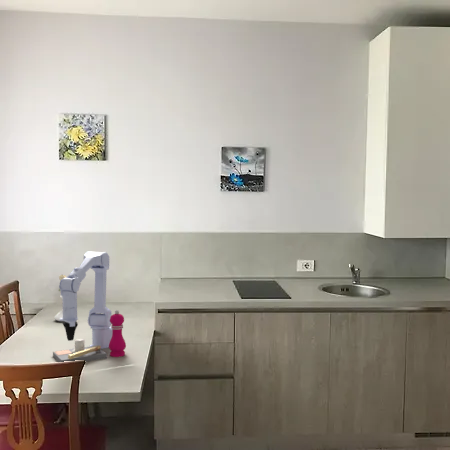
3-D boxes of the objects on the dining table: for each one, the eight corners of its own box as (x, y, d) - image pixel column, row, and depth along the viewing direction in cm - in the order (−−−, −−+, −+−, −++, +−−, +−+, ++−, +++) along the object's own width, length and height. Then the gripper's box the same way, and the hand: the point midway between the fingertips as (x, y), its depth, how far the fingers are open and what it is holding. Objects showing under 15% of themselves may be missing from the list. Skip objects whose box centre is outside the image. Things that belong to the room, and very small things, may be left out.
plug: (84, 354, 246) (84, 337, 245) (89, 358, 240) (89, 341, 240) (70, 356, 243) (70, 339, 242) (74, 360, 237) (74, 342, 237)
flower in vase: (78, 321, 310) (78, 275, 308) (58, 323, 303) (57, 277, 302) (70, 316, 320) (70, 272, 319) (50, 319, 314) (49, 274, 312)
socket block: (96, 351, 252) (96, 343, 252) (106, 359, 240) (106, 351, 240) (52, 357, 243) (52, 349, 242) (61, 366, 231) (61, 358, 230)
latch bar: (97, 348, 244) (97, 345, 244) (101, 349, 243) (101, 345, 242) (67, 358, 229) (67, 355, 229) (71, 359, 228) (71, 355, 228)
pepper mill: (110, 359, 240) (110, 312, 239) (107, 354, 247) (106, 309, 246) (127, 357, 243) (127, 311, 242) (123, 352, 250) (123, 307, 248)
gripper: (57, 304, 236) (58, 336, 237) (61, 311, 223) (62, 345, 224) (75, 303, 239) (75, 335, 240) (80, 310, 225) (80, 343, 226)
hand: (70, 340), depth 232 cm, fingers closed
